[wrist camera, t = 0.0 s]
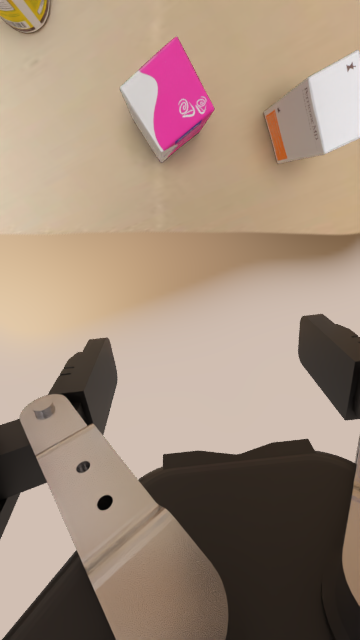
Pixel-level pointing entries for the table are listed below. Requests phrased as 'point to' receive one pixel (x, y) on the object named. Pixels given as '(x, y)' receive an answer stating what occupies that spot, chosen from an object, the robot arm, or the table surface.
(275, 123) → the skincare box
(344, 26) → the table surface
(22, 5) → the supplement bottle
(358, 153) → the table surface
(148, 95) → the supplement box
